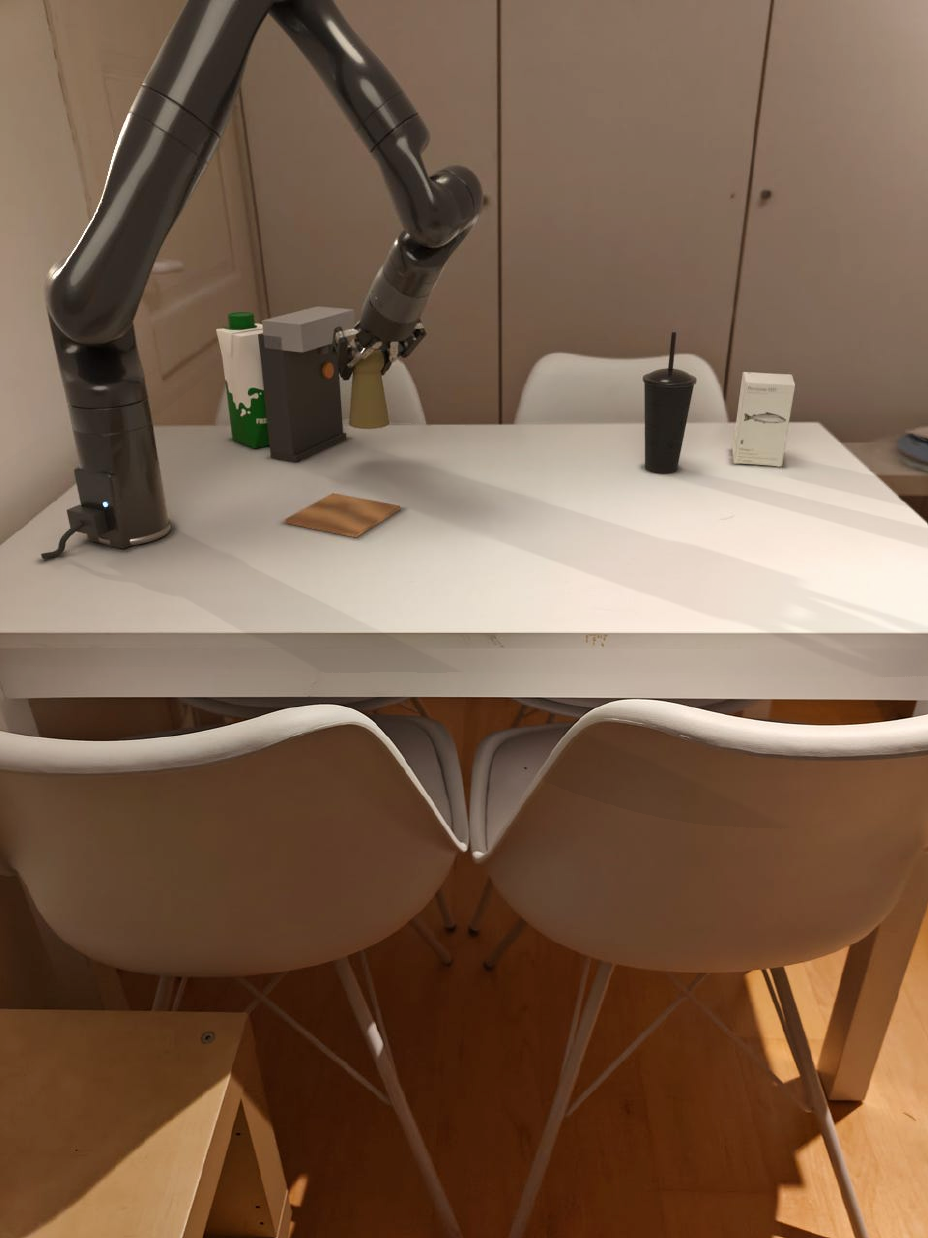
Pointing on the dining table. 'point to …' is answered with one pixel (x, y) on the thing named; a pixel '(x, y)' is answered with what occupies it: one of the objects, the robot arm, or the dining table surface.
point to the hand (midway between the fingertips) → (361, 372)
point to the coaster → (343, 515)
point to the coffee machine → (302, 381)
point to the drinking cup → (666, 414)
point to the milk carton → (244, 379)
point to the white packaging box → (763, 418)
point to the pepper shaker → (368, 394)
